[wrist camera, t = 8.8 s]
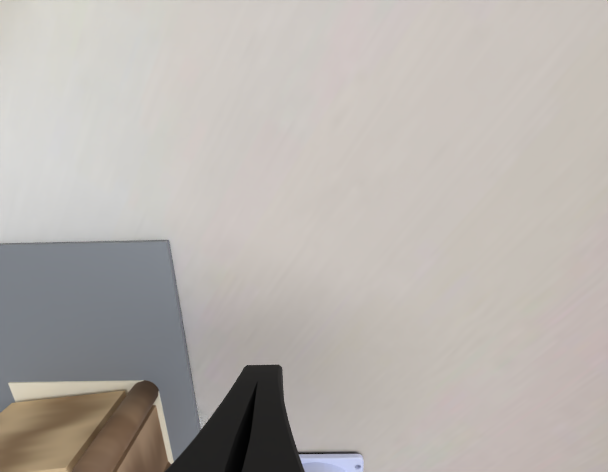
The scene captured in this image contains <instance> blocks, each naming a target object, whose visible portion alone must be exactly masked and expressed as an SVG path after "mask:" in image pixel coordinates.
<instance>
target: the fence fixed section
mask: <svg viewBox="0 0 608 472" xmlns="http://www.w3.org/2000/svg"><path fill="white" fill-rule="evenodd" d="M158 391H159V389H158V387H157V386H156V385H155V384H154V383H152V382H150V381H146V380H144V381H141V382H137V383H136V384H135V385H134V386H133V387H132V388H131V390H130V391H129V393H128V394H127V395H126V397H125V398H124V399H123V401H122V402H121V403H120V405H119V406H118V408H117V409H116V410H115V412H114V413H113V414H112V416H111V417H110V418H109V420H108V421H107V423H106V424H105V425H104V427H103V428H102V429H101V431H100V432H99V433H98V435H97V436H96V438H95V439H94V440H93V442H92V443H91V444H90V446H89V447H88V448H87V450H86V451H85V453H84V454H83V455H82V457H81V458H80V459H79V461H78V462H77V463H76V465H75V466H74V467H73V470H72V472H165V471H166V470H167V469H168V468H169V467H170V465H171V464H170V462H169V461H168V458H167V454H166V449H165V444H164V440H163V435H162V430H161V426H160V421H159V417H158V412H157V407H156V405H153V404H154V402H155V400H156V399H157V397H158Z"/></svg>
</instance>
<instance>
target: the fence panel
mask: <svg viewBox="0 0 608 472" xmlns="http://www.w3.org/2000/svg"><path fill="white" fill-rule="evenodd" d="M125 397H126V394H125V391H116V392H107V393H98V394H89V395H79V396H70V397H61V398H52V399H43V400H34V401H25V402H16V403H11V404H10V405H9V406H8V407H7V408H5V409H4V410H3V411H2V412H1V413H0V472H72V470H73V467H74V466H75V465H76V463H77V462H78V461H79V459H80V458H81V457H82V455H83V454H84V453H85V451H86V450H87V448H88V447H89V446H90V444H91V443H92V442H93V440H94V439H95V438H96V436H97V435H98V433H99V432H100V431H101V429H102V428H103V427H104V425H105V424H106V423H107V421H108V420H109V418H110V417H111V416H112V414H113V413H114V412H115V410H116V409H117V408H118V406H119V405H120V403H121V402H122V401H123V399H124V398H125Z"/></svg>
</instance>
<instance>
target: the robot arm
mask: <svg viewBox="0 0 608 472" xmlns="http://www.w3.org/2000/svg"><path fill="white" fill-rule="evenodd" d="M363 464H364V461H363V456H362V455H360V454H298V451H297V448H296V445H295V442H294V439H293V435H292V432H291V428H290V425H289V421H288V417H287V413H286V408H285V403H284V394H283V376H282V367H281V366H280V365H247V366H246V367H244V369H243V371H242V372H241V374H240V375H239V377H238V379H237V380H236V382H235V383H234V385H233V387H232V388H231V390H230V391H229V393H228V394H227V396H226V397H225V398H224V400H223V401H222V403H221V404H220V405H219V407H218V408H217V410H216V411H215V412H214V414H213V415H212V416H211V418H210V419H209V420H208V422H207V423H206V424H205V425H204V427H203V428H202V429H201V430H200V432H199V433H198V434H197V436H196V437H195V438H194V439H193V440H192V442H191V443H190V444H189V445H188V446H187V448H186V449H185V450H184V451H183V452H182V453H181V454H180V456H179V457H178V458H177V459H176V460H175V461H174V462H173V463H172V464H171V465H170V467H169V468H168V469H167V470H166V471H165V472H363Z"/></svg>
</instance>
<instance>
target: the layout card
mask: <svg viewBox="0 0 608 472" xmlns="http://www.w3.org/2000/svg"><path fill="white" fill-rule="evenodd" d="M144 380H146V381H150V382H152V383H154V384H155V385H156V386H157V387H158V389H159V391H158V397H157V399H156V400H155V402H154V404H153V405H156V407H157V412H158V417H159V421H160V426H161V430H162V435H163V440H164V444H165V449H166V454H167V458H168V461H169V462H170V464H172V463H173V462H174V461H175V460H176V459H177V458H178V457H179V456H180V454H181V453H182V452H183V451H184V450H185V449H186V448H187V446H188V445H189V444H190V443H191V442H192V440H193V439H194V438H195V437H196V436H197V434H198V433H199V432H200V425H199V419H198V413H197V407H196V401H195V395H194V389H193V383H192V377H191V371H190V365H189V359H188V353H187V346H186V340H185V334H184V328H183V322H182V316H181V310H180V304H179V298H178V292H177V286H176V280H175V274H174V268H173V262H172V256H171V250H170V244H169V240H152V241H103V242H55V243H6V244H0V413H1V412H2V411H3V410H4V409H5V408H7V407H8V406H9V405H10V404H11V403H16V402H25V401H34V400H43V399H52V398H61V397H70V396H79V395H89V394H98V393H107V392H116V391H125V394H126V395H127V394H128V393H129V391H130V390H131V388H132V387H133V386H134V385H135V384H136V383H137V382H141V381H144Z"/></svg>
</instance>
